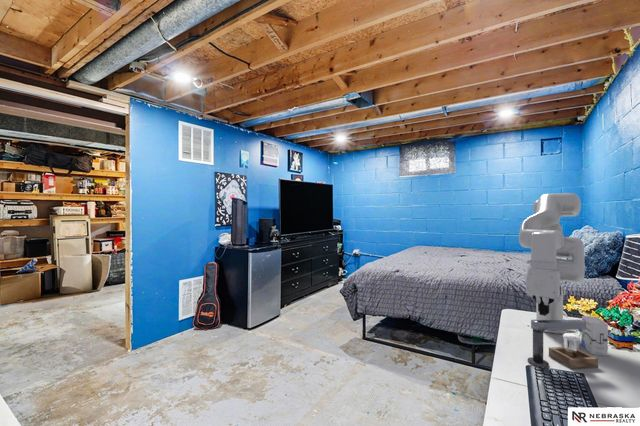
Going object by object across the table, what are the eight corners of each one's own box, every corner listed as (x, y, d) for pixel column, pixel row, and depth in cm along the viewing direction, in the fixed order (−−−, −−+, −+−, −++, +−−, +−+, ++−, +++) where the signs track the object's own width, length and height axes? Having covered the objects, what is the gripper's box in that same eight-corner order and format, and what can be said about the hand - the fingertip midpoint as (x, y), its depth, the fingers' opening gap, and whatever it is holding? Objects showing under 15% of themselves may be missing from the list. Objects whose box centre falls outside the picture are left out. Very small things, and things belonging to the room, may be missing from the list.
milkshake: (585, 364, 103) (585, 334, 103) (567, 362, 105) (567, 333, 104) (577, 357, 108) (577, 329, 108) (560, 356, 109) (560, 328, 109)
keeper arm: (536, 331, 103) (536, 323, 103) (528, 326, 107) (528, 319, 107) (588, 330, 103) (588, 323, 103) (578, 325, 107) (578, 318, 107)
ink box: (580, 344, 120) (580, 314, 120) (596, 346, 118) (596, 316, 118) (591, 354, 112) (591, 322, 112) (608, 356, 110) (608, 324, 110)
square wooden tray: (572, 354, 111) (572, 346, 111) (598, 367, 102) (598, 358, 102) (548, 355, 111) (548, 347, 111) (572, 369, 101) (572, 360, 101)
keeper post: (539, 358, 108) (539, 325, 108) (553, 367, 102) (553, 332, 102) (523, 359, 108) (523, 326, 108) (536, 368, 102) (536, 333, 102)
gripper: (516, 263, 116) (516, 311, 116) (565, 270, 104) (565, 323, 104) (524, 261, 120) (525, 307, 121) (572, 267, 108) (572, 318, 108)
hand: (543, 314), depth 112 cm, fingers closed
